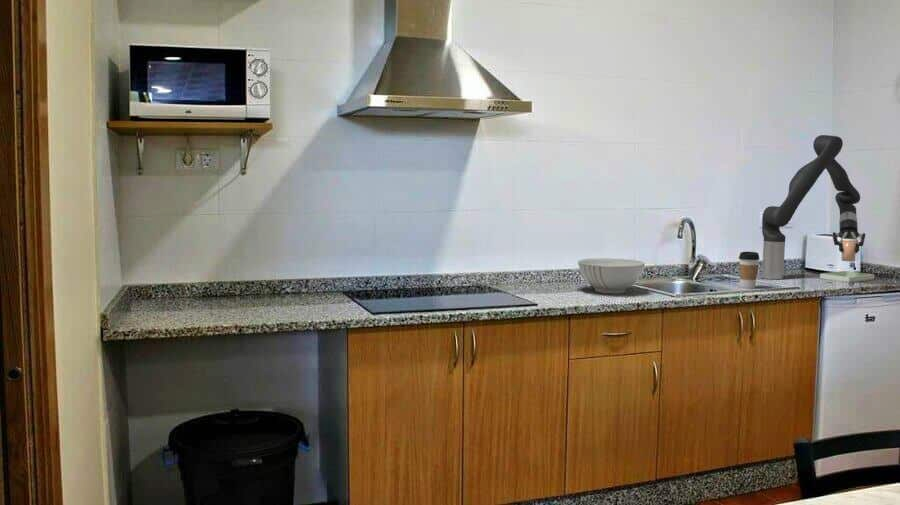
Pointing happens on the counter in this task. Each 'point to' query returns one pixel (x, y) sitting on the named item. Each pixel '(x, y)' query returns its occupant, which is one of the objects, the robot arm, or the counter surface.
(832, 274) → the tray
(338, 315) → the counter surface
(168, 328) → the counter surface
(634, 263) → the decorative bowl
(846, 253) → the tumbler
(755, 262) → the coffee cup
